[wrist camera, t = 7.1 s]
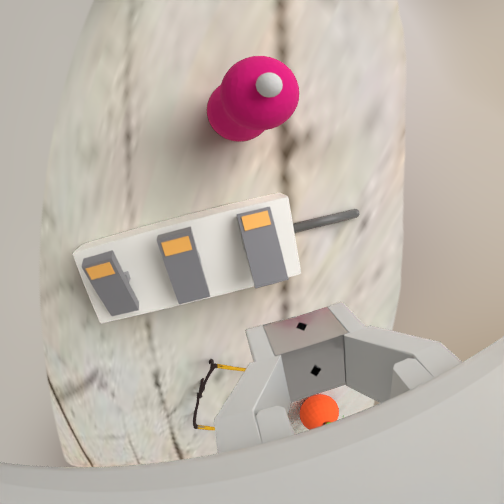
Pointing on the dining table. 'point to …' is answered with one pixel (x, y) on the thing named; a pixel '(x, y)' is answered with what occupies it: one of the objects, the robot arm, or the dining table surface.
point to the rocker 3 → (262, 247)
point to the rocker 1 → (110, 283)
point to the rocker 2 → (183, 265)
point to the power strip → (209, 249)
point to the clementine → (318, 411)
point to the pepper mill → (253, 98)
